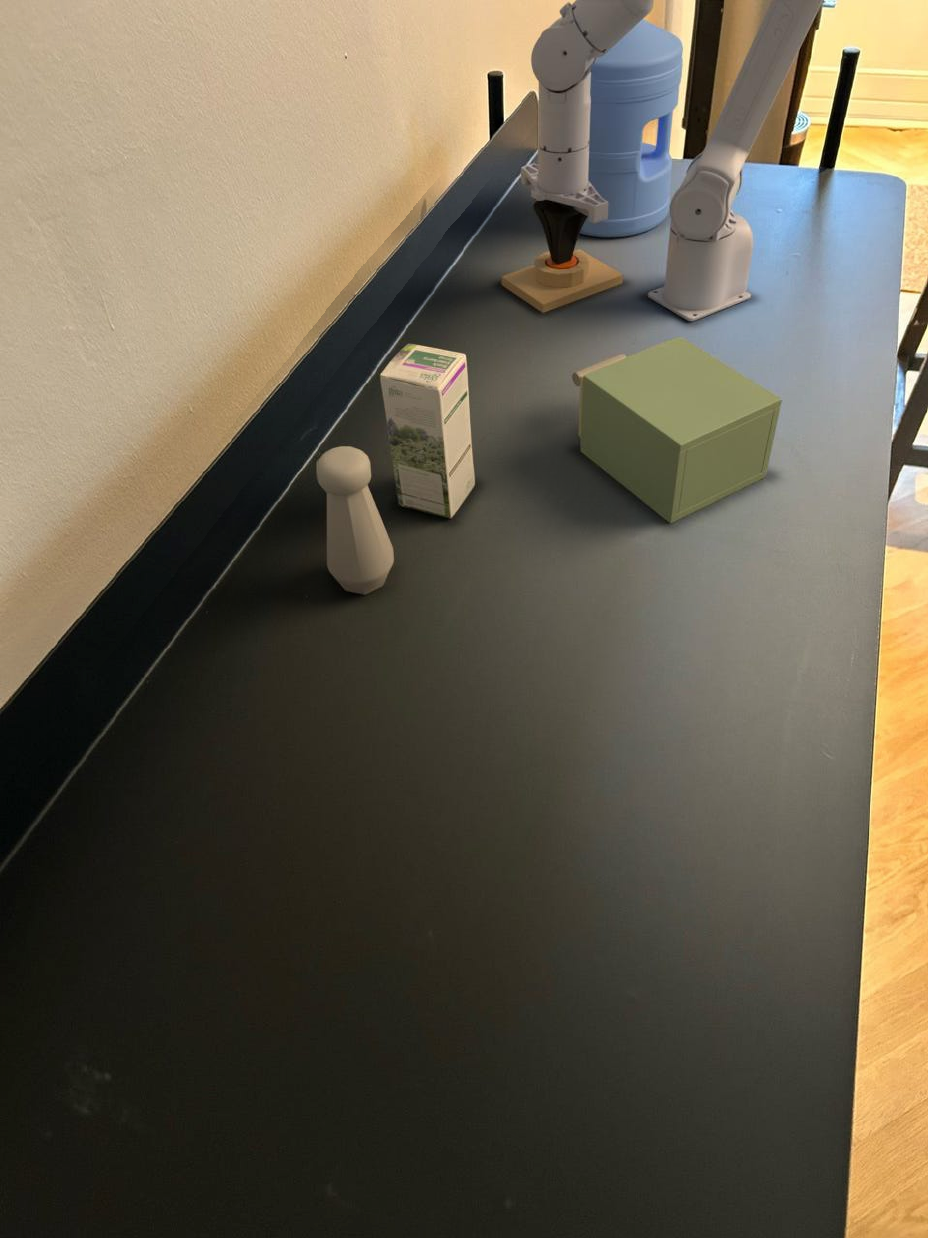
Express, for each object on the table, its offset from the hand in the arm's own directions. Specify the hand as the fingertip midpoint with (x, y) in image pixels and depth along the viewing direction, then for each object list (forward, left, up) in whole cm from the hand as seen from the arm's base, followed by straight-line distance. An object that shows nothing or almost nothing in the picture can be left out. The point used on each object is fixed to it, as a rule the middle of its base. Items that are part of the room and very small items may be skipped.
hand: (561, 260), depth 116 cm
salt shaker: (+45, +33, -3) cm, 56 cm away
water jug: (-17, -12, -3) cm, 21 cm away
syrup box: (+34, +27, -3) cm, 44 cm away
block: (0, 0, -3) cm, 3 cm away
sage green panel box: (+13, +36, -3) cm, 38 cm away
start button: (0, 0, -2) cm, 2 cm away
